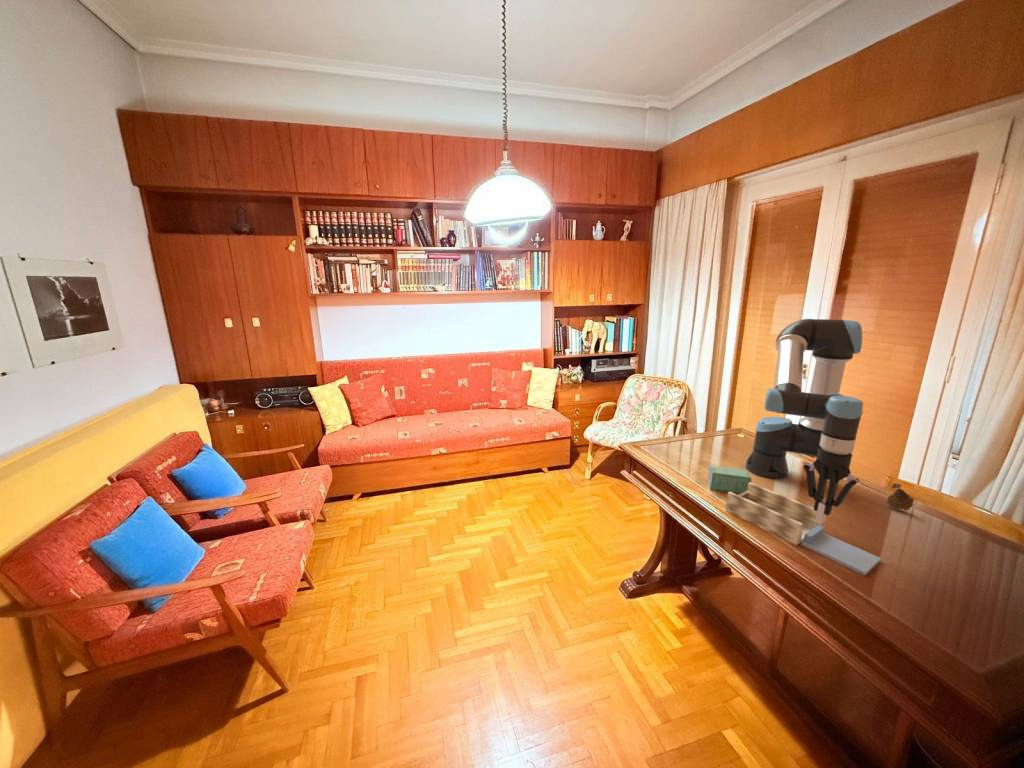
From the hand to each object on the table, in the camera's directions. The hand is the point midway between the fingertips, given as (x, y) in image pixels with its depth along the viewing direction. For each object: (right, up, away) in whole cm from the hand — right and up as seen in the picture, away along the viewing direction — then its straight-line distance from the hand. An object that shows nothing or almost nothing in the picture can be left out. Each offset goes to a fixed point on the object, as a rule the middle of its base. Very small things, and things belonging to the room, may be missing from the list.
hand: (819, 521), depth 116 cm
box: (-9, +1, +33) cm, 35 cm away
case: (-7, -4, +12) cm, 15 cm away
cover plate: (+3, -8, -4) cm, 9 cm away
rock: (+41, -2, +19) cm, 46 cm away
